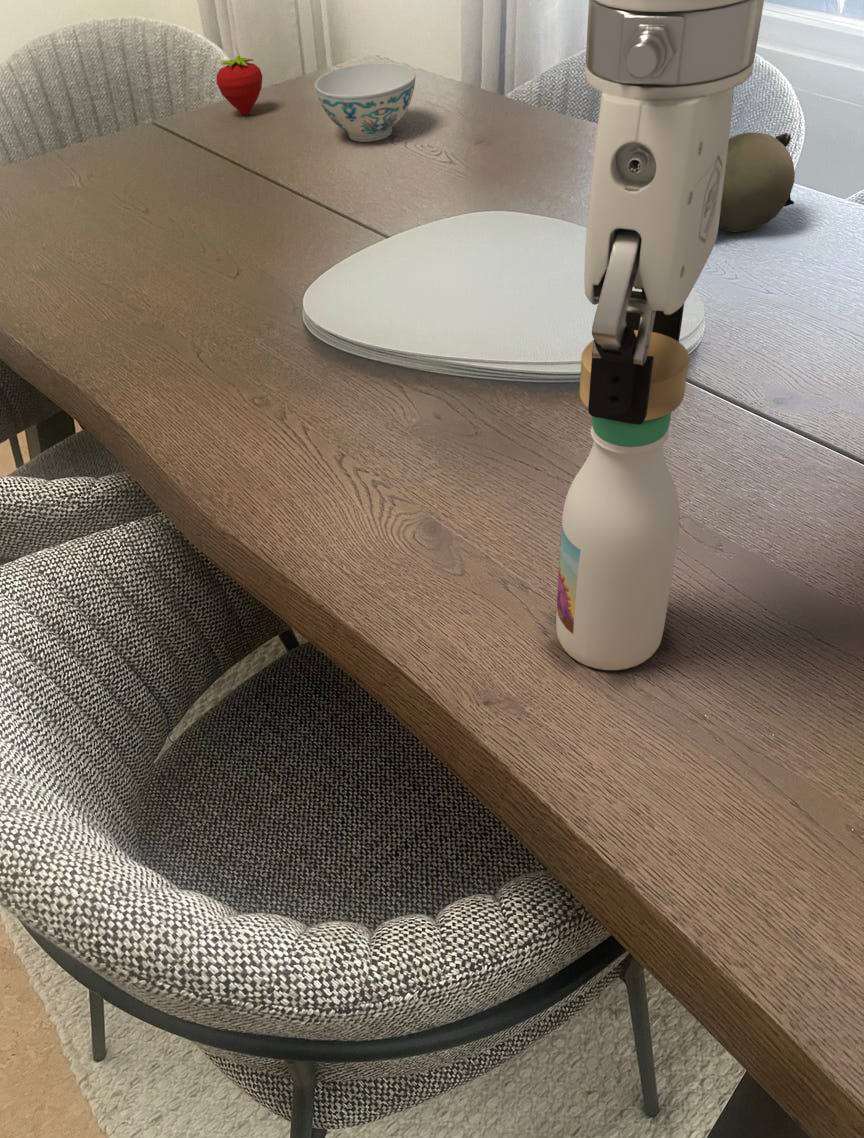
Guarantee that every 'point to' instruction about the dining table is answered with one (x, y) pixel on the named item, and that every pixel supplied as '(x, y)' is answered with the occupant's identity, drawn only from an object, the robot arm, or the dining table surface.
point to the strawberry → (240, 83)
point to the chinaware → (367, 98)
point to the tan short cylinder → (664, 378)
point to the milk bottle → (618, 547)
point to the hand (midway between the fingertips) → (633, 384)
